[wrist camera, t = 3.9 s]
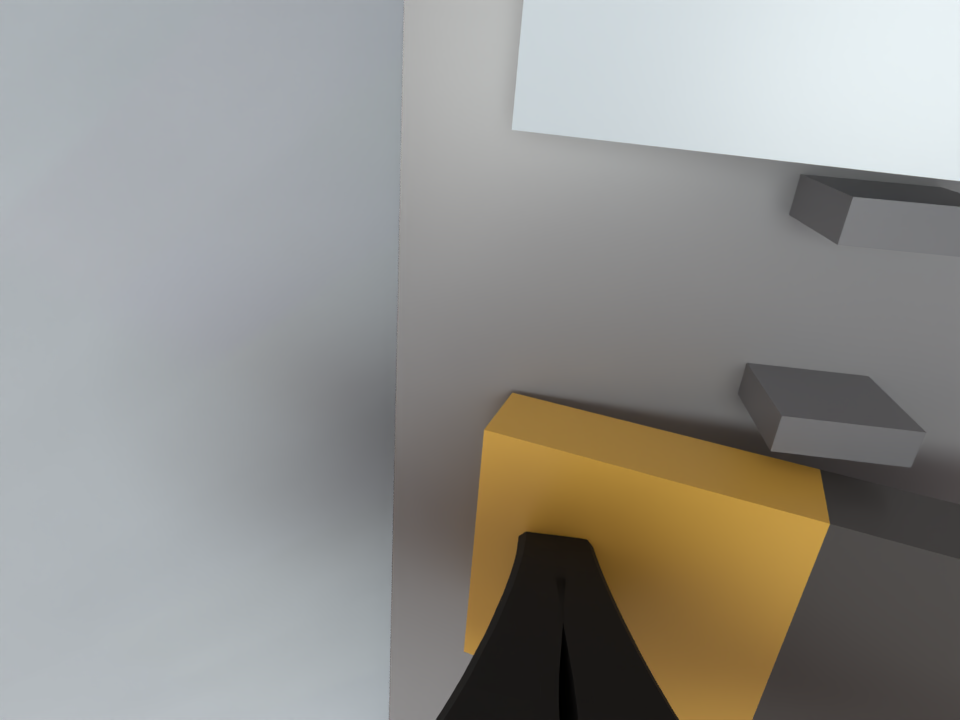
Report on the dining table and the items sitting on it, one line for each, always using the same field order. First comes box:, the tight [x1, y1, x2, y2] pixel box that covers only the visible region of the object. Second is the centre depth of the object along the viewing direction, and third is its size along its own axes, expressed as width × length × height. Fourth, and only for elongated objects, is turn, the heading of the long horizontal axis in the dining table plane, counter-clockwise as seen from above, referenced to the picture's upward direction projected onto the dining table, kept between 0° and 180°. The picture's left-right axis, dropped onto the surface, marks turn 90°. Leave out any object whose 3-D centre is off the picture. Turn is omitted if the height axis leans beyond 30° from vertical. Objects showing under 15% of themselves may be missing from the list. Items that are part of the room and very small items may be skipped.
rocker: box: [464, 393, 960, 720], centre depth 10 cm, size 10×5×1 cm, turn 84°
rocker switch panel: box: [389, 0, 960, 720], centre depth 11 cm, size 14×35×4 cm, turn 175°
